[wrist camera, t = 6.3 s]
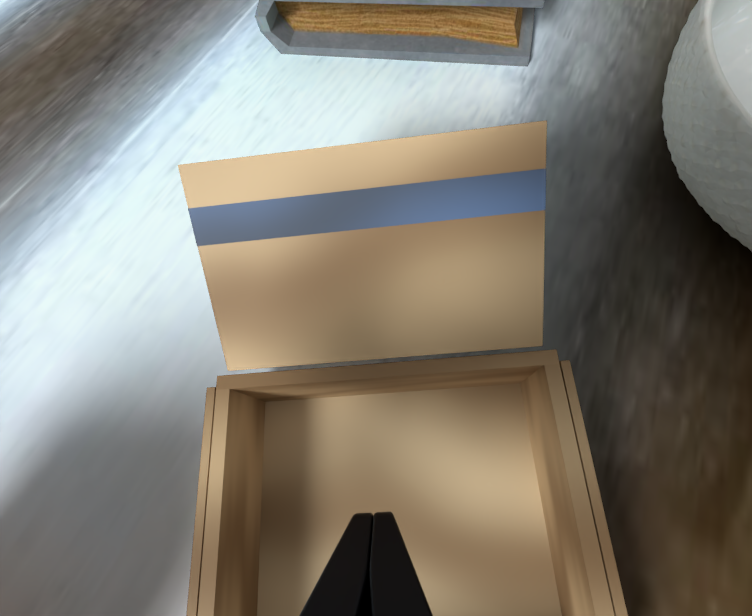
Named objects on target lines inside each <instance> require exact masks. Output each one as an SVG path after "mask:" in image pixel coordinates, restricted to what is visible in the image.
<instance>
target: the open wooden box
mask: <svg viewBox="0 0 752 616" xmlns="http://www.w3.org/2000/svg"><path fill="white" fill-rule="evenodd" d="M388 511H390V512H392V513H393V514H394V517H395V519H396V522H397V525H398V527H399V530H400V532H401V535H402V537H403V540H404V542H405V545H406V548H407V550H408V553H409V555H410V558H411V560H412V563H413V566H414V568H415V571H416V573H417V576H418V578H419V581H420V584H421V586H422V589H423V591H424V594H425V596H426V599H427V602H428V604H429V607H430V609H431V612H432V614H433V616H628V614H627V610H626V605H625V601H624V597H623V592H622V588H621V583H620V579H619V575H618V570H617V566H616V561H615V557H614V553H613V548H612V544H611V540H610V535H609V531H608V526H607V522H606V518H605V513H604V509H603V504H602V500H601V496H600V491H599V487H598V482H597V478H596V474H595V469H594V465H593V460H592V456H591V452H590V447H589V443H588V439H587V434H586V430H585V425H584V421H583V417H582V412H581V408H580V403H579V399H578V395H577V390H576V386H575V381H574V377H573V373H572V368H571V364H570V360H565V361H560V362H559V359H558V354H557V350H543V351H530V352H518V353H505V354H492V355H479V356H466V357H454V358H441V359H428V360H415V361H403V362H390V363H377V364H364V365H352V366H339V367H326V368H313V369H300V370H288V371H275V372H262V373H249V374H237V375H224V376H217V385H216V387H210V388H207V393H206V404H205V415H204V426H203V437H202V448H201V459H200V471H199V482H198V493H197V504H196V515H195V526H194V537H193V548H192V559H191V570H190V582H189V593H188V604H187V615H186V616H299V615H300V613H301V611H302V609H303V608H304V606H305V604H306V602H307V600H308V598H309V596H310V595H311V593H312V591H313V589H314V587H315V585H316V583H317V581H318V580H319V578H320V576H321V574H322V572H323V570H324V568H325V567H326V565H327V563H328V561H329V559H330V557H331V555H332V553H333V552H334V550H335V548H336V546H337V544H338V542H339V540H340V539H341V537H342V535H343V533H344V531H345V529H346V527H347V526H348V524H349V522H350V520H351V518H352V516H353V515H354V514H356V513H368V512H370V513H372V514H373V515H374V513H376V512H388Z"/></svg>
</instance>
